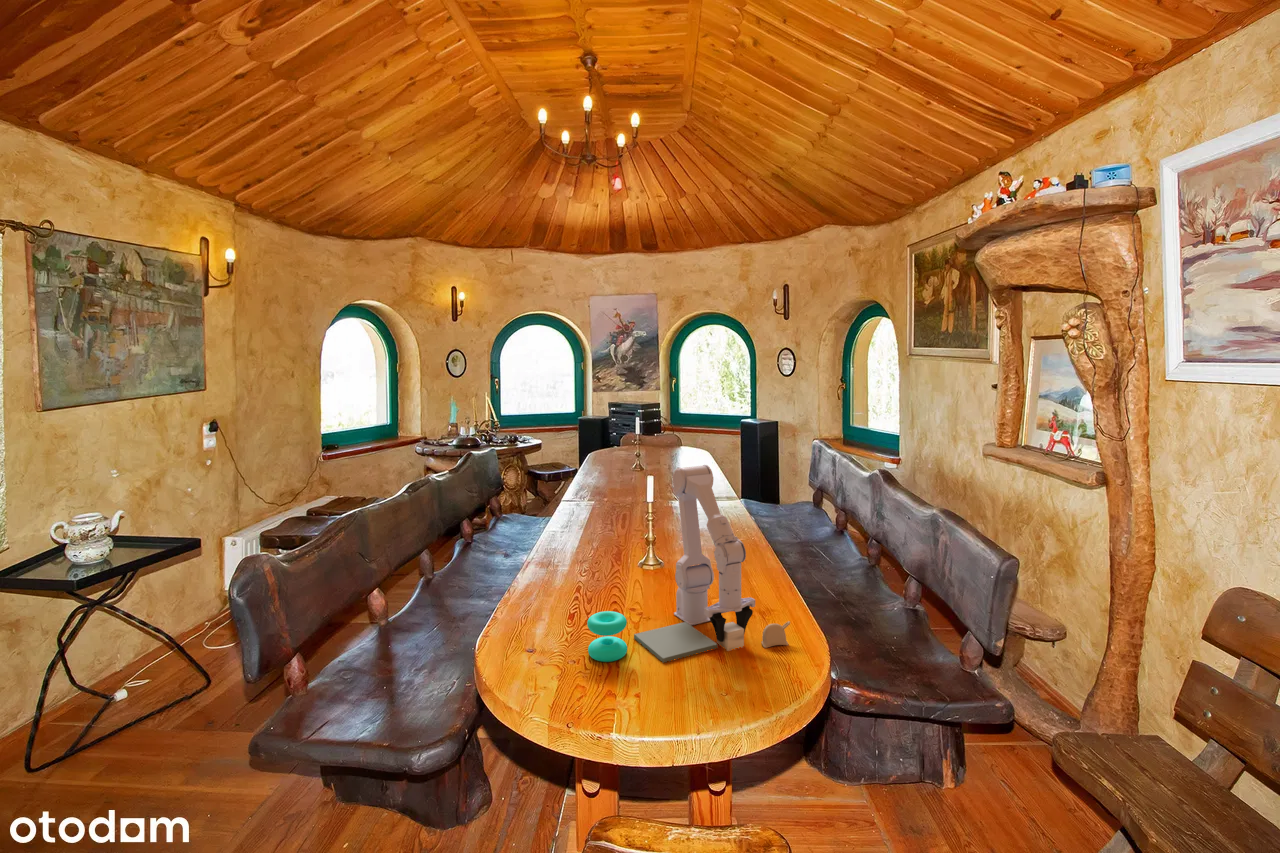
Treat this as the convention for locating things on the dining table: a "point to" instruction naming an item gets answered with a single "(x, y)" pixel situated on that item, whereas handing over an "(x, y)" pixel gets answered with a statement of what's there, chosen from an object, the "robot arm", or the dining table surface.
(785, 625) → the decorative ornament
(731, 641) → the cream cube
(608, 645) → the donuts
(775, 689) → the dining table surface
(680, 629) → the board
